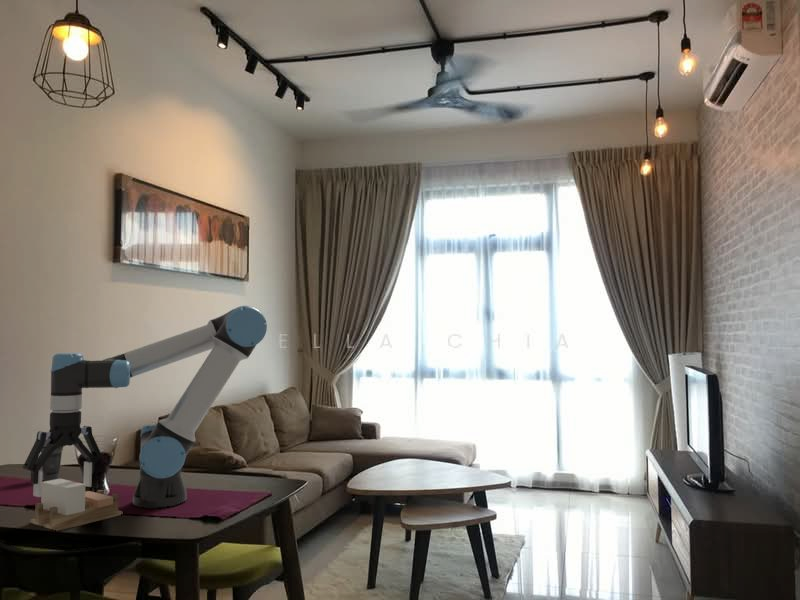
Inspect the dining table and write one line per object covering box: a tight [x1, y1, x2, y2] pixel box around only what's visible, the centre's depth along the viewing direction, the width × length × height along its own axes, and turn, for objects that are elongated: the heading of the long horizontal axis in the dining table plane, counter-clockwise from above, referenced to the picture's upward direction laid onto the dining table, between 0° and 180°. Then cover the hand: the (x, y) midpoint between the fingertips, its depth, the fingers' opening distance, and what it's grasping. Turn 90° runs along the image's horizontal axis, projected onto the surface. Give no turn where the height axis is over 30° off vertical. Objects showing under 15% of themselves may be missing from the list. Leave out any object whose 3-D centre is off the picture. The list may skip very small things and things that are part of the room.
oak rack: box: [30, 489, 124, 532], centre depth 175 cm, size 13×18×5 cm
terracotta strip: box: [85, 490, 113, 508], centre depth 179 cm, size 12×4×2 cm, turn 57°
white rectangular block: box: [40, 478, 87, 515], centre depth 172 cm, size 12×5×7 cm, turn 58°
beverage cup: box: [40, 437, 64, 482], centre depth 222 cm, size 7×7×20 cm
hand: (63, 491), depth 172 cm, fingers open, 13 cm apart
